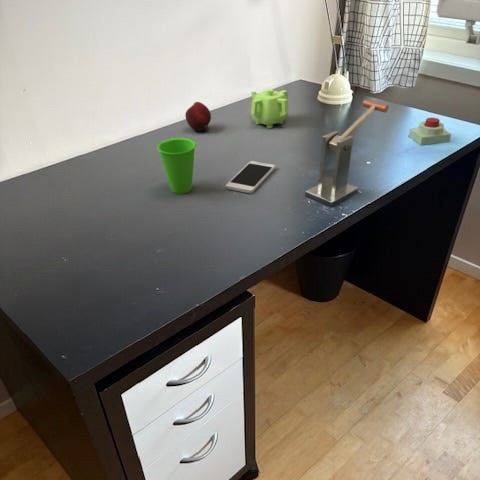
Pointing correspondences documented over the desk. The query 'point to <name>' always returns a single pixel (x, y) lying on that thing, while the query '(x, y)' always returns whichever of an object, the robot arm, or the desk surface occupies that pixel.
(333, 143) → the lever
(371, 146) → the desk surface
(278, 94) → the green pot with handles
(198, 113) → the apple
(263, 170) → the smartphone
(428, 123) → the button
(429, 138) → the control block
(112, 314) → the desk surface
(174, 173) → the cup
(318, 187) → the bracket
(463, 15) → the robot arm
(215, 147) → the desk surface
